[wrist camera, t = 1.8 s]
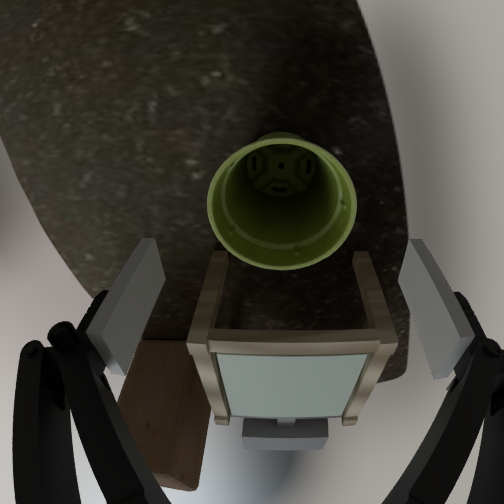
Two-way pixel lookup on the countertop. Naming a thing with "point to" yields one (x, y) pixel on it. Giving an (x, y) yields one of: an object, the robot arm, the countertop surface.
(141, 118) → the countertop surface
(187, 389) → the wooden block
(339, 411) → the trapdoor
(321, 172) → the plant pot
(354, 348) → the frame
